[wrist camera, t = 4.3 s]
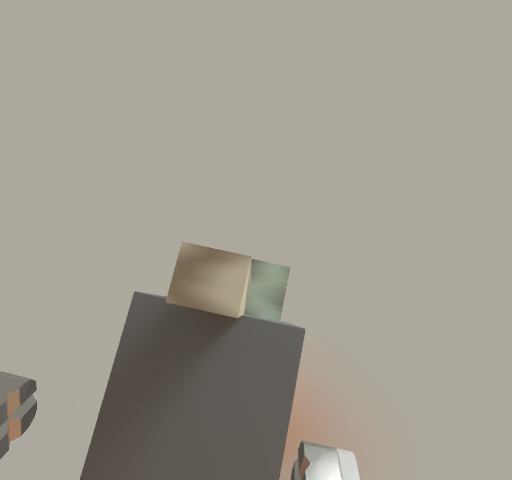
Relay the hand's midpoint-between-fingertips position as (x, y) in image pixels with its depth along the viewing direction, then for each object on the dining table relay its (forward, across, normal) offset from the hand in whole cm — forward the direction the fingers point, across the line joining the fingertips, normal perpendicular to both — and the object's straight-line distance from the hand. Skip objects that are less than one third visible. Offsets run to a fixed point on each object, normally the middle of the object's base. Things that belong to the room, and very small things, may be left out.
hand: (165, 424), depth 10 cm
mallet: (+15, 0, -5) cm, 15 cm away
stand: (+6, 0, -30) cm, 30 cm away
